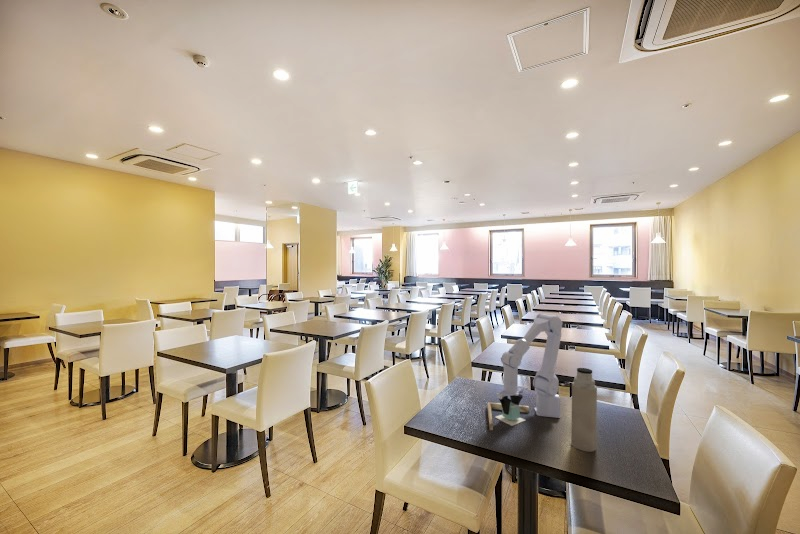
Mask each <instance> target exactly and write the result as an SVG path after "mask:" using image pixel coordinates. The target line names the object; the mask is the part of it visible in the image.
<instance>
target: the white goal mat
mask: <svg viewBox="0 0 800 534" xmlns="http://www.w3.org/2000/svg"><path fill="white" fill-rule="evenodd" d="M494 418H495V419H496V420H499V421H501V422H503V423H505V424H507V425H509V426H511V427H513V426H516V425H518V424H522V423H523V422H526V419H525V418H522V417H520V418H518V419H515V420H510V419H508V418H506V417H503V416H502V414H499V415H495V416H494Z"/></svg>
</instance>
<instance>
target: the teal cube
mask: <svg viewBox="0 0 800 534" xmlns="http://www.w3.org/2000/svg"><path fill="white" fill-rule="evenodd" d="M519 405H520V404H519ZM519 405H516V404H514V403H512V402H511V403H510V407H509V414H508V415H507V414H504V412H503V408H502V410H501V411H502V412H501V413H502V414H501V415H502V416H503V417H506V418H508V419H510V420H515V419H518V418H521V417H520V416H521V415H520V413H521V412H520V406H519Z"/></svg>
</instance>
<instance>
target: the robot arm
mask: <svg viewBox="0 0 800 534" xmlns="http://www.w3.org/2000/svg"><path fill="white" fill-rule="evenodd" d="M562 328H563V320H562V319H561V317H560V316H558V315H552V314H545V313H543V312H542V313H538V314H537V315H536V316H535V318H534V319H533V323H532V325H531V326H530V328H529V329H528V331H526V333H525V334H524V336H523V337H522V338H518V339H516V340H515V343H514V344H513V345H512V346H511V347H510V348H509V350H507V351H505V352H504V353H502V355H501V357H500V362H501V364H502V367H503V388H502V390H501V391H499V392H498V393H496V398H497V399H499V403H501V405H502V408H503V412H504V414H507V415H508V414H509V407H510V403H511V402H512V403H514V404H516V405H520V402H521V401H522V399H523V397H524V396H523V393H524V388H523V387H520V386H519V387H518V385H519V383H518V381H519V379H518V377H519V376H518V374H519V373H518V372H519V370H518V368H519V366H521V364H522V360H523V357H524V355H525V354H526V353H527V352H528V351H529V349H530V348H531V347H530V344H531V343H532V342H533V341H534V340H535V339H536V338H537V337H538V336H539V335H540V333H542V332H544V333H545V334H546V336H547V337H546V343H545V347H544V353H543V358H542V363H541V369H540V370H538V371H536V374H535V376H534V378H533V380H532V385H533V387H534V388H535V392H536V407H534V411H535V413H536V416H537V417H546V418H547V417H548V418H558V419H560V418H561V397H560V395H559V394H558V392H559V379H558V377H557V375H556V374H555V372H556V366H557V360H558V355H559V351H560V350H559V349H560V345H561V339H562Z"/></svg>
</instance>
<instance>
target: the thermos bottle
mask: <svg viewBox="0 0 800 534" xmlns="http://www.w3.org/2000/svg"><path fill="white" fill-rule="evenodd" d="M595 384H596V380H595V379H594V378H593V370H592V369H590V368H585V367H578V368H576V375H575V376H574V378H573V381H572V382H571V433H570V435H571V441H570V442H571V445H572V446H573V447H574V448H575V449H577V450H579V451H583V452H587V453H588V452H592V453H593V452H595V451H596V450H597V420H598V419H597V417H598V416H597V413H598V411H597V410H598V406H597V404H598V399H597V398H598V387H597V385H595Z"/></svg>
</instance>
